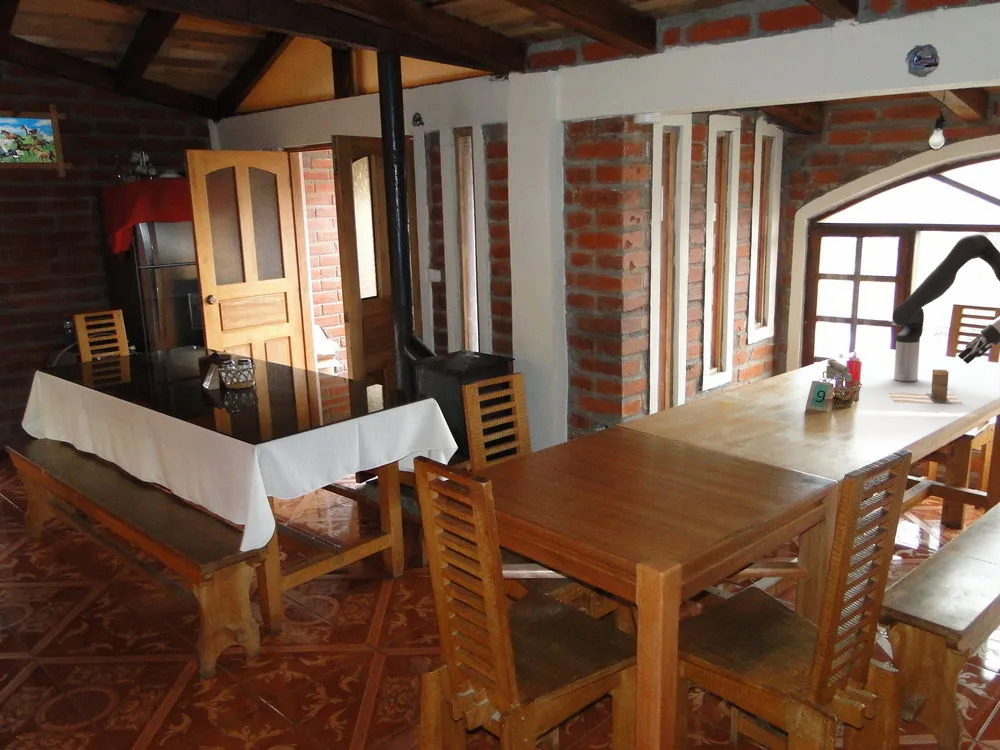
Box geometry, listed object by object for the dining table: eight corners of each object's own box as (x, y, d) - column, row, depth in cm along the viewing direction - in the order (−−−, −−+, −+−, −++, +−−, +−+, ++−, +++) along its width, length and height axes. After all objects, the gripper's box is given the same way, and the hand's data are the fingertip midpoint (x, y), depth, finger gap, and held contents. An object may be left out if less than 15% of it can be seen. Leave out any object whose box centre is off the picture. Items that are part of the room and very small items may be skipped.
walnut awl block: (931, 396, 326) (932, 369, 323) (944, 397, 324) (945, 369, 322) (933, 399, 321) (935, 372, 319) (946, 399, 320) (948, 372, 318)
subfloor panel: (887, 396, 335) (887, 392, 335) (953, 397, 328) (953, 393, 328) (894, 406, 320) (894, 402, 320) (963, 407, 313) (963, 403, 313)
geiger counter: (855, 367, 329) (831, 355, 353) (839, 367, 329) (816, 356, 353) (853, 400, 332) (830, 387, 356) (837, 401, 332) (815, 387, 356)
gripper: (985, 320, 318) (950, 349, 324) (996, 326, 305) (959, 356, 311) (1000, 334, 318) (965, 363, 324) (1011, 340, 305) (974, 370, 310)
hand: (962, 359), depth 317 cm, fingers open, 8 cm apart
